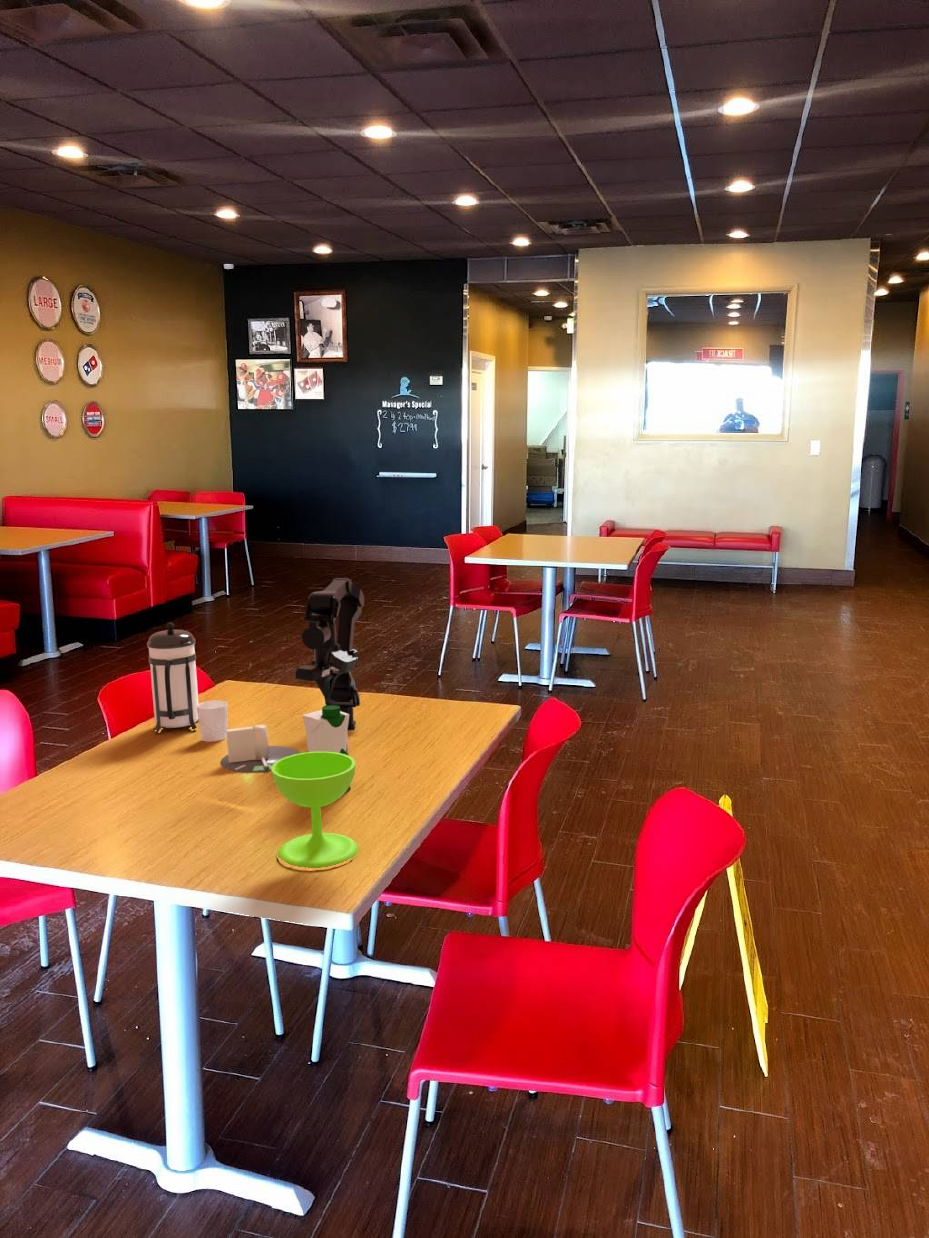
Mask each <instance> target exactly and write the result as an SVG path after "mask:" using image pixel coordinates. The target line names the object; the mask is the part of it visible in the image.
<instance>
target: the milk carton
mask: <svg viewBox="0 0 929 1238" xmlns="http://www.w3.org/2000/svg"><path fill="white" fill-rule="evenodd" d="M301 716H302V719H303V720H302V721H303V725H304V729H305V732H306V747H307V748H306V749H307V752H337V753H342V754H346V755H348V756H349V745H348V743H349V742H348V740H349V739H348V737H349V736H348V729H347V728H348V721H349V714H347V713H344V712H341V711H340V706H338V705H326V704H325V705H323V706H322V707H321V709H320V710H315V711H313V712H309V713H304V714H302V715H301ZM351 789H352V788H351V785H350V786H349V788H348V789H347V791H348V790H351Z"/></svg>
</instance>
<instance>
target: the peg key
mask: <svg viewBox="0 0 929 1238" xmlns="http://www.w3.org/2000/svg"><path fill="white" fill-rule="evenodd" d="M226 732H227V738H226V742H227V743H226V745H227V747H226V748H227V755H228V761H229V763H232V762H240V761H248V760H262V762H263V765H264V769H265V770H267V769H269V766H268V765H267V763H266V761H265V759H268V758H269V749H268V746H269V735H268V734H269V733H268V725H266V724H256V725H253V726H245V727H236V728H229V729H227V730H226Z"/></svg>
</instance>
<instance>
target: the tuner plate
mask: <svg viewBox="0 0 929 1238" xmlns="http://www.w3.org/2000/svg"><path fill="white" fill-rule="evenodd" d="M268 749H269V758H268V759H265V761H266V763H267V765H268V766H269V769H267V770H265V769H264V765H263V762H262V760H248V761H240V762H232V763H229V761H228V754H226V755H225V756H224V757H222V758H221V760H220V763H219V764H220V766H221V767H222V768H224V769H225V770H228V771H229V772H230V771H231V772H235V773H240V774H241V773H242V774H245V773H246V774H254V773H255V774H259V773H269V772H272V771H271V767H272V765H273V764H274V763H275V762H277V761H278V760H280V759H282V758H285V757H287V756H291V755H295V754H300V753H302V752H300V751H299V750H298V749H296V748H292V747H289V746H283V745H282V746H281V745H268Z"/></svg>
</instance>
